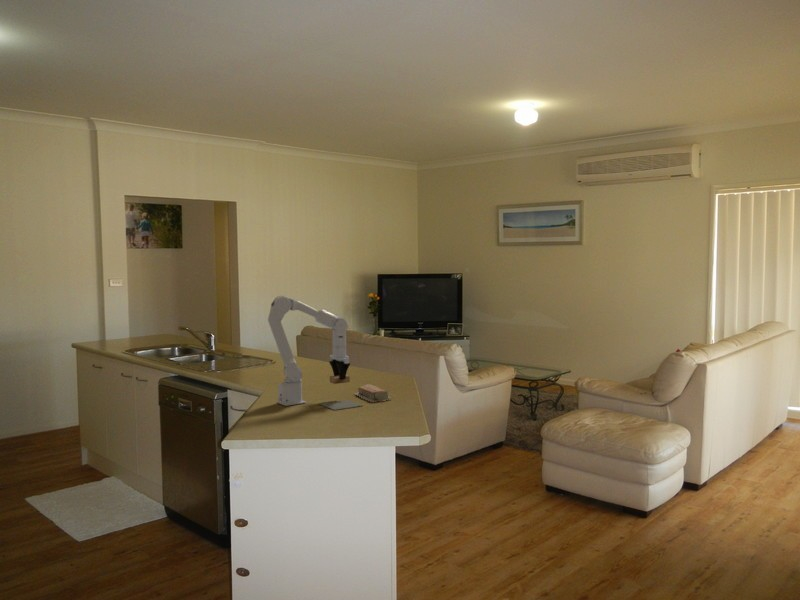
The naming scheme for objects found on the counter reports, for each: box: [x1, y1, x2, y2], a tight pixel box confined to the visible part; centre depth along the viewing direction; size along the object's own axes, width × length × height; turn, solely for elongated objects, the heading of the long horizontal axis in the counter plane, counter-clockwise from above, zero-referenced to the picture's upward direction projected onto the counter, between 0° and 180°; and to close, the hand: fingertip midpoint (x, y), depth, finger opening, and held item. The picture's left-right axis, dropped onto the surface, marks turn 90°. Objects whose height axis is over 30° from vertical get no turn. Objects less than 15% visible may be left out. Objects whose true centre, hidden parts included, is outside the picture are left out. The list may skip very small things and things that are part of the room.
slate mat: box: [319, 399, 364, 411], centre depth 262 cm, size 13×12×1 cm
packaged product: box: [353, 383, 392, 403], centre depth 278 cm, size 18×5×10 cm
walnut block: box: [329, 374, 351, 385], centre depth 273 cm, size 7×4×3 cm, turn 121°
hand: (339, 378), depth 273 cm, fingers closed on walnut block, 4 cm apart
